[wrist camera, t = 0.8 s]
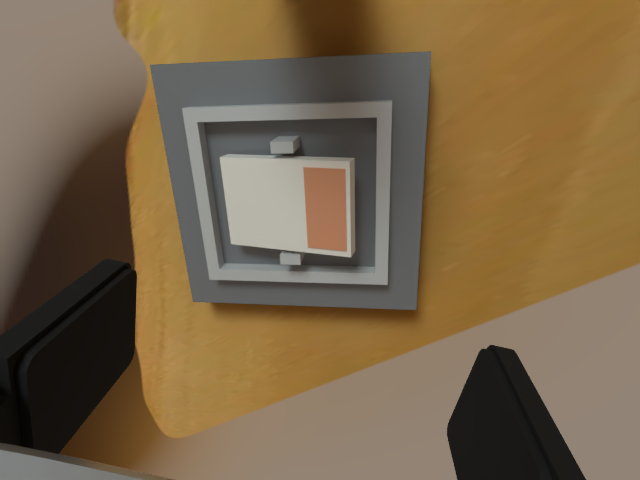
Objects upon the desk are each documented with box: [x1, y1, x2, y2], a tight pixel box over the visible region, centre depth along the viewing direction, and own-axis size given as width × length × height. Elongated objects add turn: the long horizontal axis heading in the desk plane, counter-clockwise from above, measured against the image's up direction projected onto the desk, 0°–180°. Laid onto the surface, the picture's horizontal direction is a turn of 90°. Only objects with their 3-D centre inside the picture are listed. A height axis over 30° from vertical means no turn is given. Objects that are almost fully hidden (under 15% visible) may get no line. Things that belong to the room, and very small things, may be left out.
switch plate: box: [150, 51, 431, 310], centre depth 33 cm, size 20×20×6 cm
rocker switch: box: [220, 154, 355, 257], centre depth 31 cm, size 10×7×1 cm
